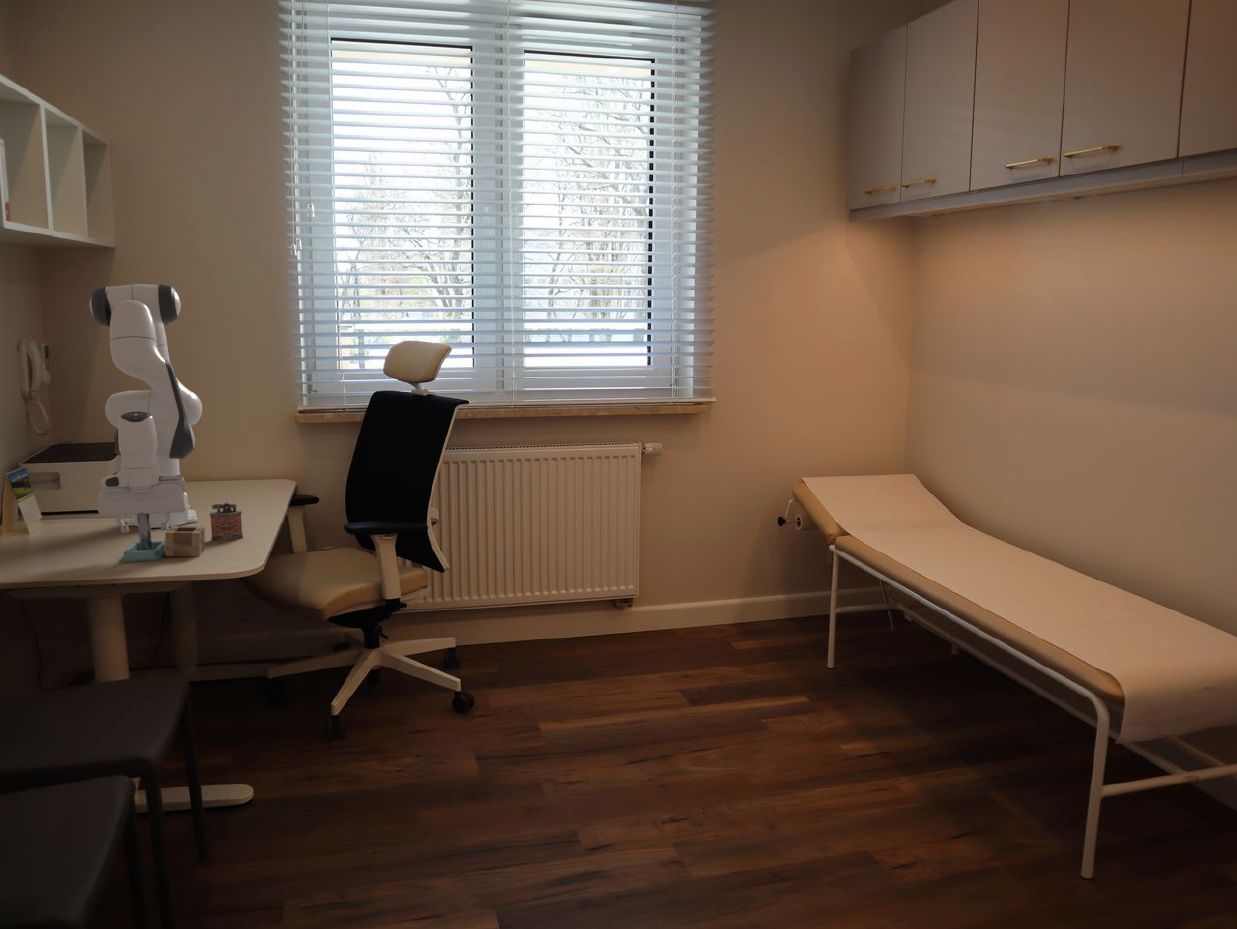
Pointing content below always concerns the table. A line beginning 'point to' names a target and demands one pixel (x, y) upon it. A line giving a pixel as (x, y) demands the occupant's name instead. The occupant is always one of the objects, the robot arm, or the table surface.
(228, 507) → the lighter
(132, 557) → the tray
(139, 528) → the post
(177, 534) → the bored block
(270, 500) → the table surface
